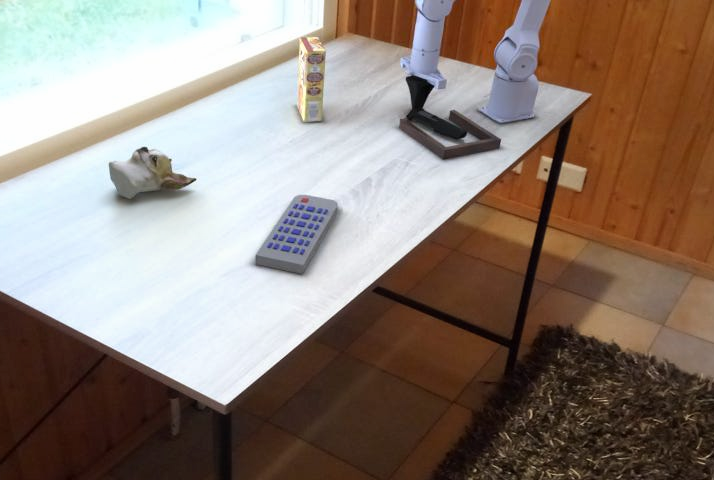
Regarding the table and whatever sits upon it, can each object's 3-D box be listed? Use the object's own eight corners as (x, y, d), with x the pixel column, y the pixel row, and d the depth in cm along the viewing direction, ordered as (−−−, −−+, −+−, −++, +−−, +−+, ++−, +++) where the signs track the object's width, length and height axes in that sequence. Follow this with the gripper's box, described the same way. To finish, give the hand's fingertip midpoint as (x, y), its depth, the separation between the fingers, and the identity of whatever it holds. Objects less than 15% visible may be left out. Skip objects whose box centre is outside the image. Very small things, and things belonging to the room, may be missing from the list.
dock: (452, 118, 178) (454, 109, 176) (499, 148, 166) (501, 139, 165) (398, 127, 173) (400, 119, 172) (442, 159, 161) (444, 150, 160)
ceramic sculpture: (95, 142, 143) (170, 128, 151) (97, 187, 148) (169, 171, 156) (122, 166, 137) (199, 150, 144) (123, 212, 142) (197, 195, 149)
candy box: (322, 122, 174) (327, 50, 165) (302, 122, 174) (306, 51, 165) (314, 105, 181) (318, 36, 172) (295, 106, 181) (299, 36, 172)
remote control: (254, 265, 130) (255, 253, 128) (297, 200, 147) (298, 189, 145) (302, 275, 128) (303, 263, 126) (340, 208, 145) (341, 197, 143)
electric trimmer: (456, 147, 166) (459, 132, 164) (404, 119, 176) (406, 105, 174) (469, 142, 168) (472, 128, 166) (416, 116, 178) (418, 102, 176)
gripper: (391, 38, 173) (383, 100, 181) (429, 61, 162) (420, 125, 171) (419, 35, 175) (410, 96, 183) (459, 56, 165) (448, 120, 173)
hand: (417, 109), depth 177 cm, fingers closed
